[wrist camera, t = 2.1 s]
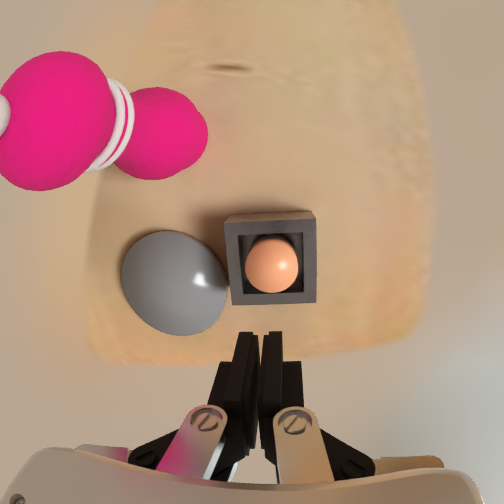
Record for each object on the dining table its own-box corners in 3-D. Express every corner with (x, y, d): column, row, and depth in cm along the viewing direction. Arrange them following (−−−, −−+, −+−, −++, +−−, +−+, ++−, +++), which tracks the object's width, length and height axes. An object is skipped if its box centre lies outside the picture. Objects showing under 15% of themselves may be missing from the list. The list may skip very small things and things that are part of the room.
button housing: (231, 214, 25) (223, 223, 22) (311, 210, 24) (315, 218, 21) (237, 287, 27) (232, 305, 24) (312, 285, 26) (316, 302, 23)
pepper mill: (197, 187, 25) (11, 265, 6) (130, 163, 24) (-66, 198, 6) (225, 110, 22) (76, -4, 3) (154, 92, 22) (-30, 28, 3)
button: (246, 236, 24) (242, 244, 21) (295, 234, 23) (297, 242, 21) (250, 281, 25) (247, 293, 22) (297, 279, 24) (298, 291, 22)
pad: (117, 234, 27) (111, 236, 26) (220, 226, 26) (218, 229, 25) (138, 328, 30) (135, 332, 29) (233, 331, 29) (231, 337, 28)
